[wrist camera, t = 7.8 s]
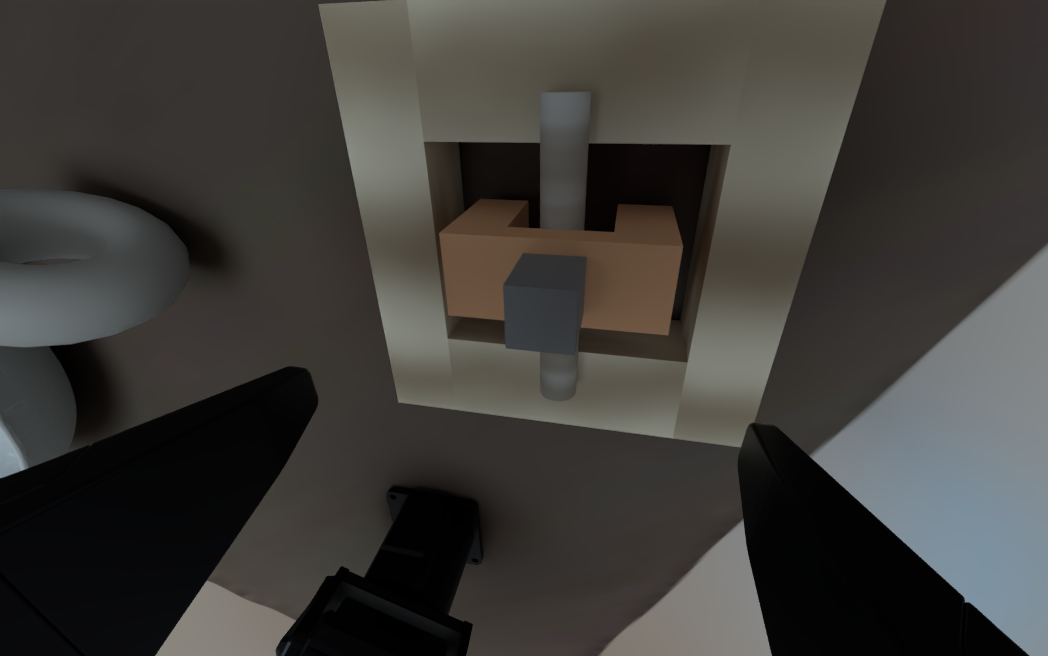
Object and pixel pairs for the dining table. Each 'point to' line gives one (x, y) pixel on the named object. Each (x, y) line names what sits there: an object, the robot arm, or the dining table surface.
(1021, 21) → the dining table surface
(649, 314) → the brown u-shaped block
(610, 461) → the dining table surface
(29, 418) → the serving bowl
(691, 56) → the grey square tray
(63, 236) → the donut
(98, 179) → the dining table surface
